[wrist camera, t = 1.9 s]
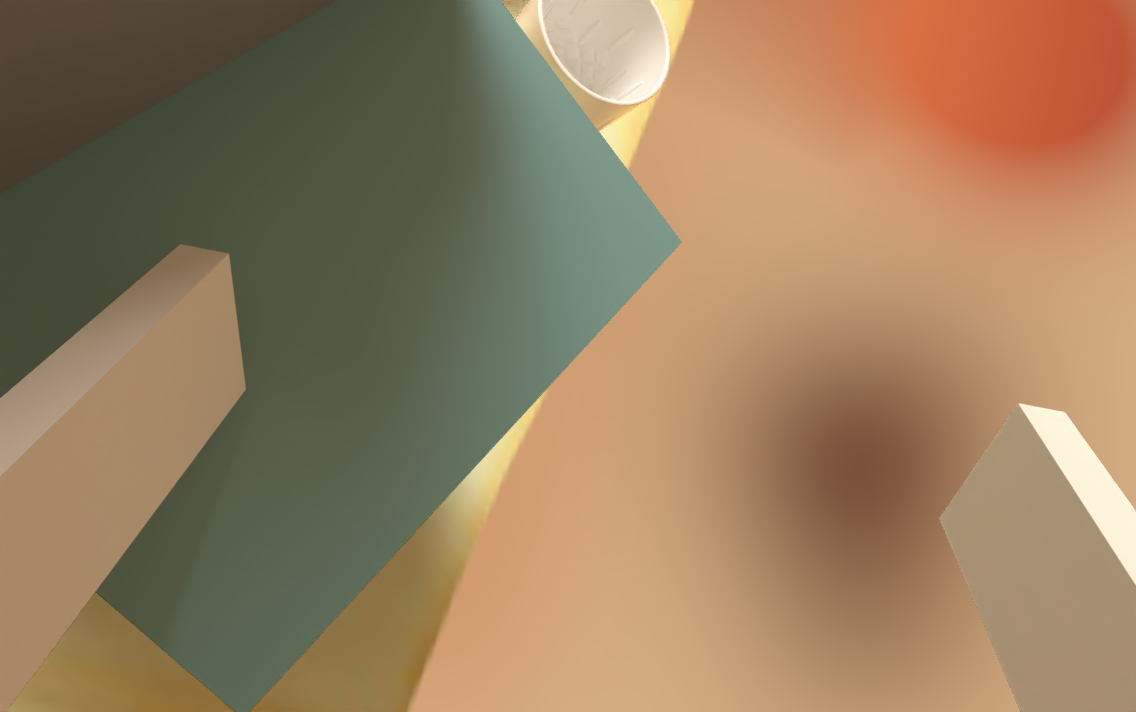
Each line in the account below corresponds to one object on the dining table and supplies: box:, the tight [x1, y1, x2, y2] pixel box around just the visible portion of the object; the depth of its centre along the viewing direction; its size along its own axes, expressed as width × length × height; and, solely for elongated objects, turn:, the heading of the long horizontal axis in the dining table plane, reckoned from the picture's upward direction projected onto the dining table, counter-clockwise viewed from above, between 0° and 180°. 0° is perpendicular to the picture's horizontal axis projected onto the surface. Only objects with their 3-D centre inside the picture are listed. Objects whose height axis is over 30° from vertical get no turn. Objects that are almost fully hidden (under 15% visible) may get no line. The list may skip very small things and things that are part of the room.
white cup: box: [515, 0, 670, 132], centre depth 41 cm, size 8×8×10 cm
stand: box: [0, 0, 681, 712], centre depth 21 cm, size 14×18×30 cm
